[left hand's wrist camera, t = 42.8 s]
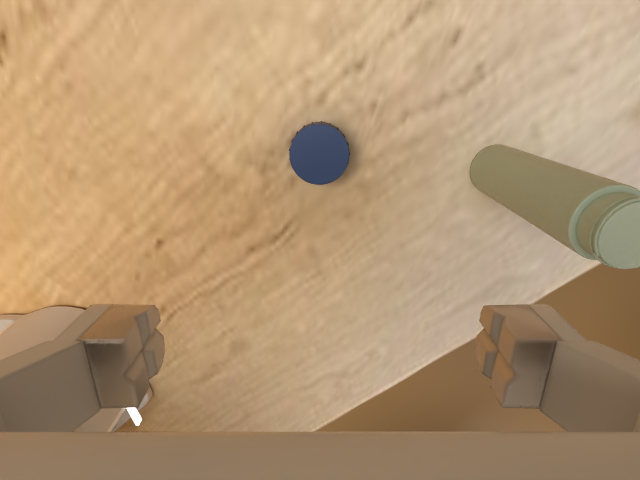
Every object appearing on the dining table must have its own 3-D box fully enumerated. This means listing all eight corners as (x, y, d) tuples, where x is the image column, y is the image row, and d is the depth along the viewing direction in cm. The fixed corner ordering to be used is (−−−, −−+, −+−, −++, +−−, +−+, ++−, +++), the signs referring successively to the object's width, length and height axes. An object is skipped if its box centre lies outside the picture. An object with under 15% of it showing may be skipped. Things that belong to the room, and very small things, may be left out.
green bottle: (509, 135, 37) (673, 178, 20) (524, 179, 38) (688, 253, 21) (462, 158, 38) (581, 218, 21) (478, 200, 39) (602, 288, 22)
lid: (318, 191, 39) (318, 197, 37) (278, 150, 37) (275, 154, 35) (360, 152, 37) (362, 156, 35) (320, 108, 36) (320, 109, 34)
